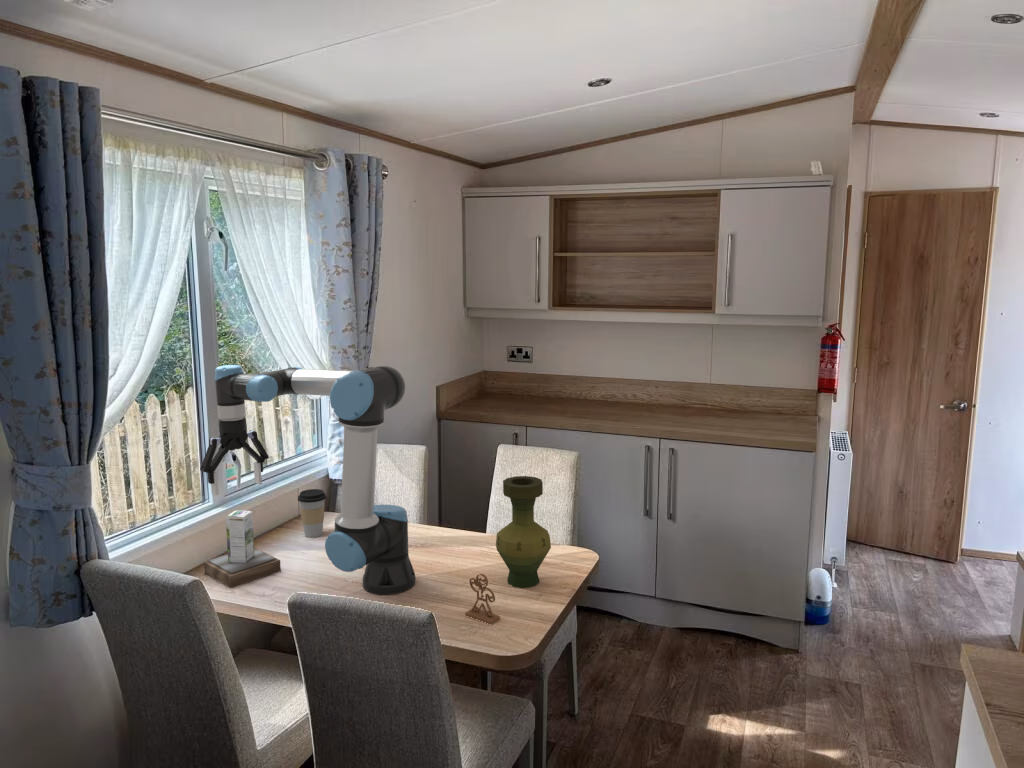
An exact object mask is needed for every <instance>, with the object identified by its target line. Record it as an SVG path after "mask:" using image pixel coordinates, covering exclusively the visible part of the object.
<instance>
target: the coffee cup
mask: <svg viewBox="0 0 1024 768" xmlns="http://www.w3.org/2000/svg"><path fill="white" fill-rule="evenodd" d="M326 498H327V494H326V493H325V491H324V490H322V489H319V488H318V489H317V488H314V489H313V488H311V489H305V490H302V491H300V492H299V495H298V496H297V501H298V502H299V511H300V517H301V523H302V526H303V532H304V536H305V537H306V538H313V539H314V538H318V537H321V536H322V535H323V534H324V533H323V531H324V521H325V520H324V519H325V500H326Z"/></svg>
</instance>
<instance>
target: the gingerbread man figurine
mask: <svg viewBox="0 0 1024 768" xmlns="http://www.w3.org/2000/svg"><path fill="white" fill-rule="evenodd" d="M480 576H481V577H480ZM482 577H483V579H482ZM468 583H469V586H470V588H471V589H472V591H474V592H475V593H476V600H475V602H474V605H472V608H470V609H469V610H467V611H465V613H464V614H465V615H466V616H469V617H472V618H474V619H473V620H475V619H478V620H480V621H479V622H481V621H483V622H482V623H484V622H486V623H485V624H487V623H488V624H487V625H490V624H492V625H494V624H495V622H496V621H497V622H499V621H500V620H501V616H500V615H499V614H496V613H493V611H492V607H490V604H489V603H492V604H493V603H494V602H495V601H496V595H495V593H494V592H493V590H492V589H491V588H489V587H488V585H489V579H488V577H487V576H486V575H485V574H484V573H479V574H477V575H476V577H471V578H469V582H468ZM474 585H475V586H476V587H477V588H478V589H476V588H475V587H474ZM486 590H487V591H488V592H489V593H490V594H489V593H485V594H484V592H485V591H486ZM490 595H491V596H490ZM479 601H481V602H482V603H481V604H480V605H479V607H478V606H477V604H478V602H479ZM484 603H485V604H486V607H487V609H488V610H487V609H486V607H485V604H484ZM466 616H465V617H466ZM469 617H468V618H469ZM472 618H471V619H472ZM478 620H477V621H478ZM498 620H499V621H498ZM497 622H496V623H497ZM493 623H494V624H493Z"/></svg>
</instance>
